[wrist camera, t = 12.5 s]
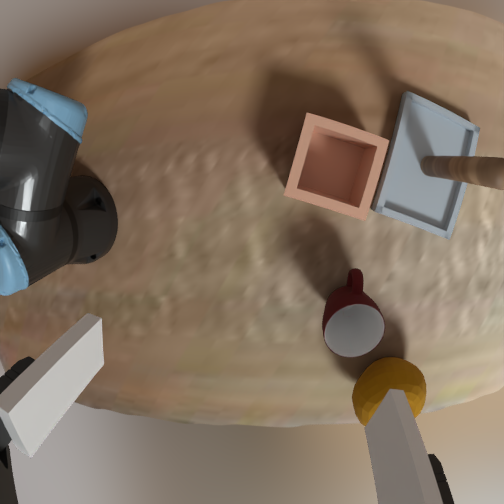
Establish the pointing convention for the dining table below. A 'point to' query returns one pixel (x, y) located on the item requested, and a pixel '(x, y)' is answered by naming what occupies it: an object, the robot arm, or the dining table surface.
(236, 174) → the dining table surface
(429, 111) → the tray
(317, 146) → the pink open square box
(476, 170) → the dowel
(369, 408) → the apple
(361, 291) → the mug
